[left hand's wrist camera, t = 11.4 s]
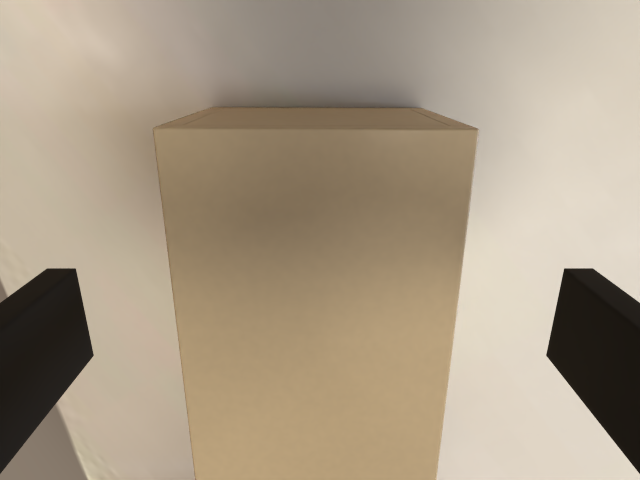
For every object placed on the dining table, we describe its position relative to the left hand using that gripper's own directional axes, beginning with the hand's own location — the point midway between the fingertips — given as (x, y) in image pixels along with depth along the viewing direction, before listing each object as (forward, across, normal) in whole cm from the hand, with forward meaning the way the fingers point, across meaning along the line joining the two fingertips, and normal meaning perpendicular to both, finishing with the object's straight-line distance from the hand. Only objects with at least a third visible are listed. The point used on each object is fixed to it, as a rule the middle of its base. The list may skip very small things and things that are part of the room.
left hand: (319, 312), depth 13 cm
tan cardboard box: (+14, 0, -4) cm, 15 cm away
